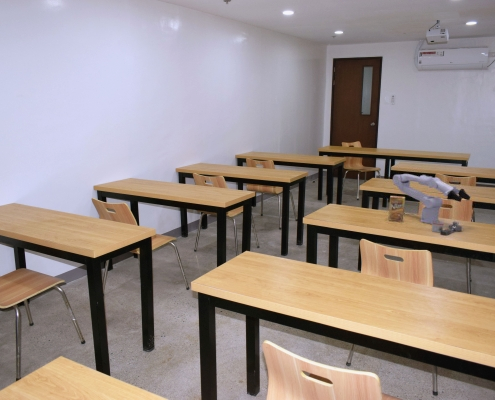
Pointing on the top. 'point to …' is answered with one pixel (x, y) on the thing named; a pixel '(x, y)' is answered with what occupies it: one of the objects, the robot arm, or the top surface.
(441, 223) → the red-striped grey block
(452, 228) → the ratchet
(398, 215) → the candy box
